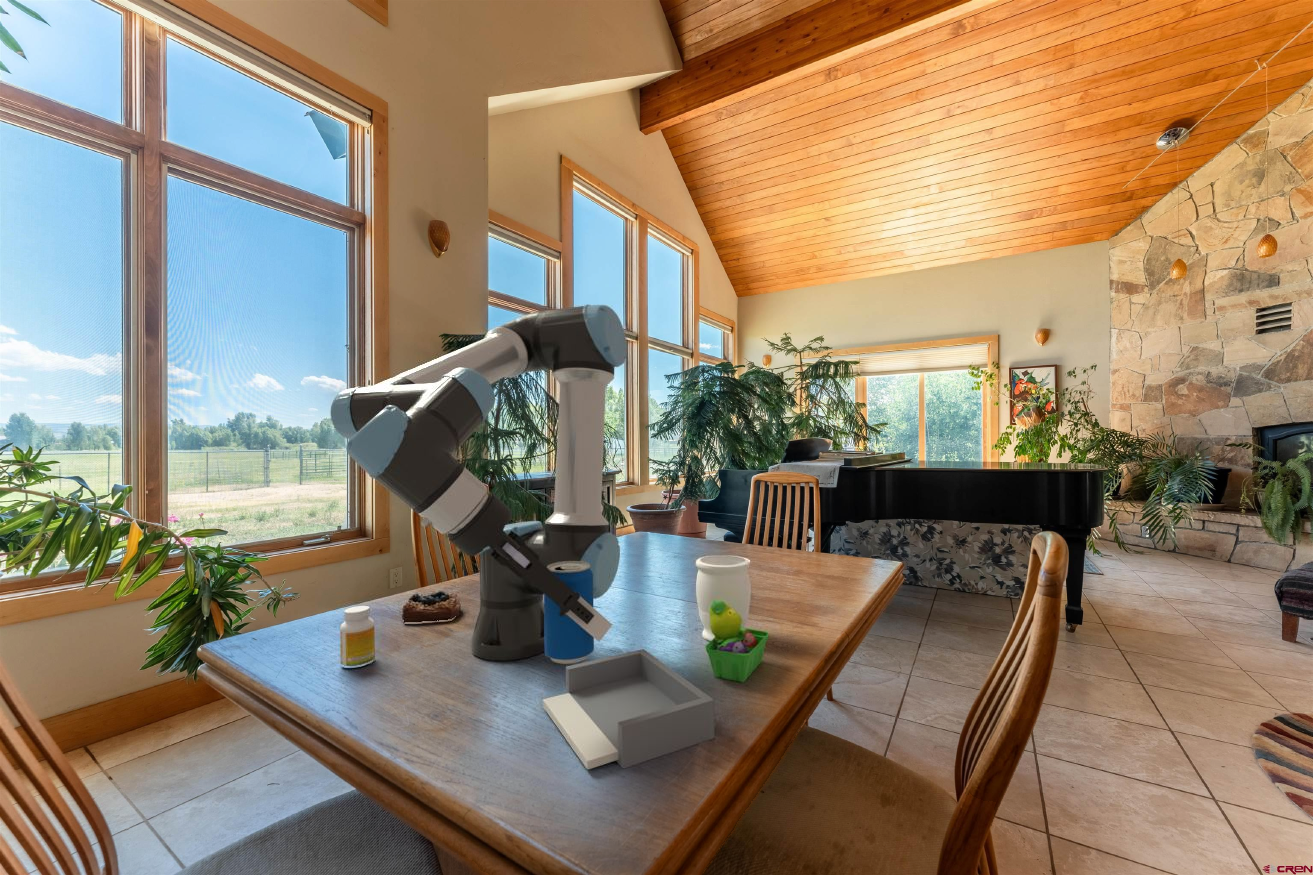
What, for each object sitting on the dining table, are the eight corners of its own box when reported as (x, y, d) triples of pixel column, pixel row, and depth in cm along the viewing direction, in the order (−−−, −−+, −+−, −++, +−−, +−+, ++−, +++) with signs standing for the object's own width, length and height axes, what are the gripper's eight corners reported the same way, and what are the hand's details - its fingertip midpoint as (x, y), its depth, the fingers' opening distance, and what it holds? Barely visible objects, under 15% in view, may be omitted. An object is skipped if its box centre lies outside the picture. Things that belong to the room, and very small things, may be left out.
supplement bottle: (382, 660, 100) (381, 606, 100) (354, 671, 95) (353, 615, 95) (361, 655, 102) (360, 602, 102) (333, 666, 97) (332, 611, 97)
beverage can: (548, 647, 76) (547, 560, 76) (595, 645, 77) (594, 559, 77) (541, 667, 70) (540, 572, 70) (592, 665, 70) (591, 571, 70)
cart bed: (540, 706, 81) (539, 672, 81) (644, 679, 90) (643, 648, 90) (591, 779, 64) (590, 736, 64) (714, 737, 72) (713, 699, 72)
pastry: (410, 612, 128) (409, 586, 128) (464, 607, 130) (463, 583, 130) (397, 628, 117) (396, 600, 117) (456, 623, 119) (456, 596, 119)
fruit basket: (748, 687, 86) (747, 615, 86) (697, 676, 91) (695, 607, 91) (771, 661, 96) (769, 596, 96) (723, 652, 101) (722, 590, 101)
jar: (749, 627, 113) (748, 554, 113) (753, 647, 103) (752, 566, 102) (697, 626, 114) (696, 554, 114) (696, 645, 104) (694, 566, 104)
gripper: (437, 525, 75) (555, 624, 82) (455, 552, 58) (603, 675, 65) (477, 484, 77) (588, 584, 85) (506, 498, 60) (643, 622, 68)
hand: (594, 623), depth 75 cm, fingers closed on beverage can, 6 cm apart
